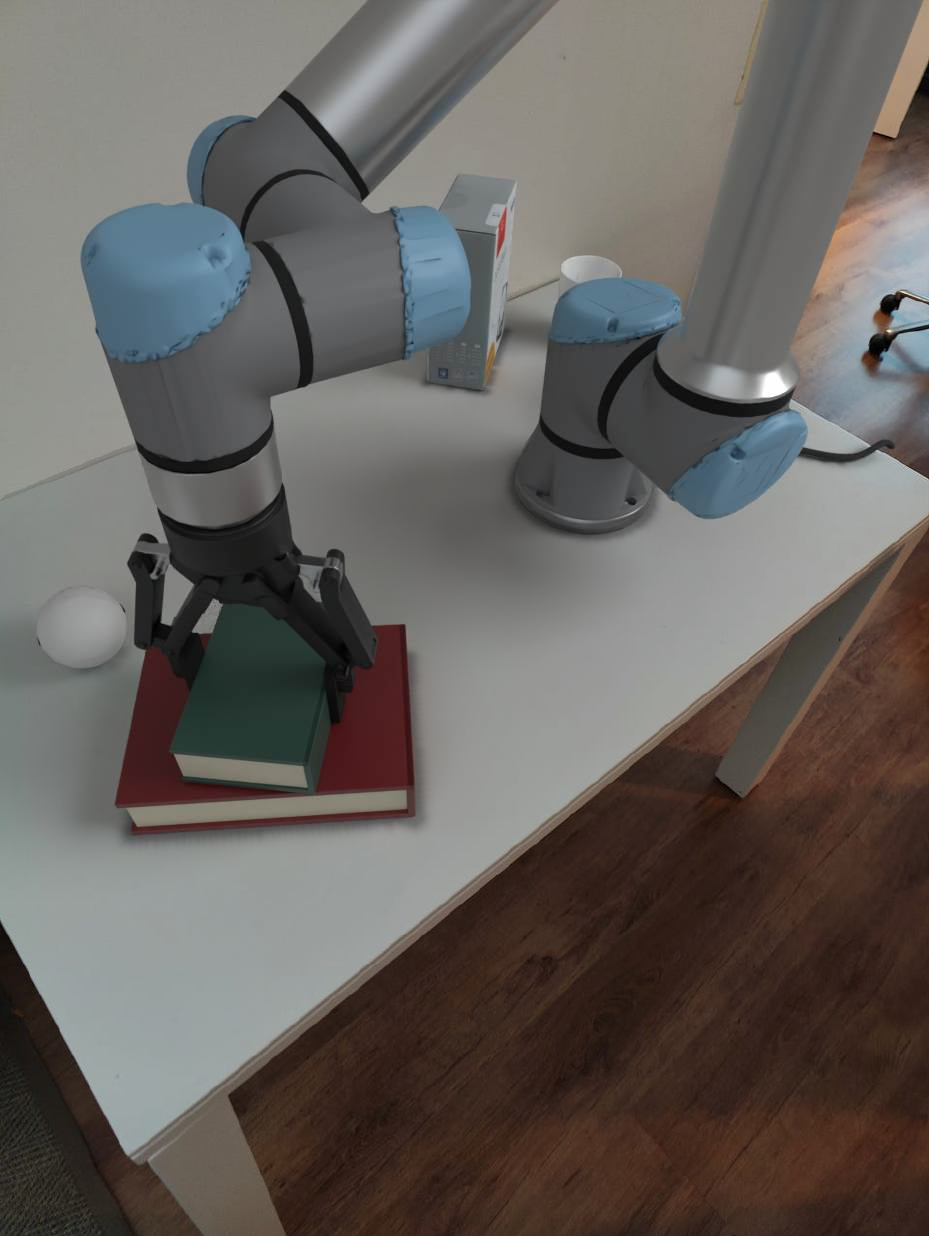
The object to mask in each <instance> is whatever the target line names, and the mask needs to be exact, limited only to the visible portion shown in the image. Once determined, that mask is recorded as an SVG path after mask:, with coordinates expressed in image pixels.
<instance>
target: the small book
mask: <svg viewBox="0 0 929 1236" xmlns="http://www.w3.org/2000/svg"><path fill="white" fill-rule="evenodd" d="M317 602H318V603H319V605H320V606H321V607H322V608H323V609H324V610H325V611H326V609H325V607H324V605H323V603H322V601H317ZM326 612H327V611H326ZM211 633H212V634H211V637H210V640H209V642H208V645H207V648H206V651H205V653H204V656H203V659H202V661H201V664H200V667H199V670H198V672H197V675H196V678H195V680H194V683H193V686H192V689H191V691H190V694H189V697H188V699H187V702H186V705H185V708H184V710H183V713H182V716H181V718H180V721H179V724H178V727H177V729H176V732H175V735H174V737H173V740H172V743H171V746H170V748H169V752H170V754H174V756H175V758H176V760H177V763H178V765H179V767H180V769H181V772H182V774H183V776H182V781H183V782H192V783H202V784H213V785H223V786H234V787H244V788H255V789H265V790H276V791H286V792H297V793H307V794H316V789H317V785H318V781H319V776H320V772H321V767H322V763H323V758H324V754H325V749H326V745H327V741H328V736H329V732H330V727H331V720H330V713H329V707H328V700H327V694H326V688H325V681H324V675H323V673H324V669H325V664H326V661H325V660H324V659H323V658H322V657H321V656H320V655H319V654H318V653H317V652H315V651H314V650H313V649H312V648H311V647H310V646H309V645H308V644H307V643H306V642H305V641H304V640H303V639H302V638H301V637H300V636H299V635H298V634H297V633H296V632H295V631H294V630H293V629H292V628H291V627H290V626H289V625H288V624H287V623H286V622H285V621H284V620H283V619H282V620H276V619H275V618H274V617H273V616H272V615H271V614H270V613H269V612H268V611H267V610H266V609H264V608H263V607H253V606H249V605H246V604H222V605H221V607H220V610H219V612H218V616H217V619H216V621H215V623H214V625H213V629H212V632H211Z"/></svg>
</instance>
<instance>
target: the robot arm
mask: <svg viewBox="0 0 929 1236" xmlns="http://www.w3.org/2000/svg"><path fill="white" fill-rule="evenodd" d="M559 1H560V0H366V1H365V3H364V4H363V5H362V6H361V7H360V8H359V9H358V10H357V11H356V12H355V13H354V14H353V15H352V16H351V18H349V20H348V21H346V23H345V24H344V25H342V27H341V28H340V29H339V30H338V31H337V33H336V34H335V35H334V36H332V38H331V39H330V40H329V41H328V42H327V43H326V44H325V45H324V46H323V47H322V48H321V50H319V52H318V53H317V54H316V55H315V56H314V57H313V58H312V59H311V60H310V61H309V62H308V63H307V65H306V66H304V67H303V69H302V70H300V72H299V73H298V74H297V75H296V76H295V78H294V79H293V80H292V81H290V83H289V84H288V85H287V86H286V87H285V88H284V89H283V90H282V91H281V92H280V93H279V95H278V96H277V97H275V98H274V99H273V101H272V102H271V103H270V104H268V105H267V107H266V108H265V109H264V110H263V111H262V112H261V113H260V114H259V115H258V116H257V117H253V116H251V115H243V114H237V115H229V116H226V117H222V118H220V119H217V120H215V121H213V122H211V123H209V125H207V126H206V127H205V128H204V129H203V130H202V131H201V132H200V133H199V134H198V136H197V137H196V139H195V141H194V142H193V145H192V147H191V149H190V152H189V155H188V159H187V165H186V183H187V187H188V188H187V189H188V192H189V195H190V199H191V201H192V202H179V203H176V204H168V205H167V204H163V203H161V202H150V203H145V204H144V203H143V204H140V205H136V206H131V207H128V208H124V209H122V210H119V211H117V212H115V213H112V214H111V215H109V216H107V217H105V218H104V219H102V220H101V221H100V222H98V223H97V224H96V225H95V226H93V228H92V229H91V230H90V231H89V233H87V235H86V237H85V239H84V241H83V244H82V246H81V251H80V268H81V272H82V276H83V279H84V284H85V287H86V291H87V294H88V299H89V301H90V305H91V309H92V313H93V316H94V321H95V327H94V331H95V334H96V336H97V339H98V340H99V341H100V345H101V347H102V351H103V353H104V357H105V359H106V361H107V365H108V367H109V370H110V373H111V376H112V379H113V382H114V385H115V388H116V390H117V393H118V396H119V399H120V403H121V405H122V408H123V410H124V413H125V417H126V419H127V422H128V425H129V427H130V431H131V434H132V436H133V440H134V442H135V446H136V449H137V452H138V456H139V459H140V462H141V466H142V469H143V471H144V475H145V478H146V481H147V485H148V488H149V491H150V494H151V498H152V500H153V502H154V505H155V506H156V509H157V514H158V517H159V520H160V525H161V526H162V530H163V533H164V535H165V539H166V542H167V543H163V542H162V543H161V542H159V540H158V538H157V537H156V536H155V535H154V534H152V533H149V532H148V533H147V532H144V533H140V535H139V537H138V538H137V541H136V543H135V545H134V547H133V549H132V551H131V552H130V555H129V557H128V560H127V562H126V565H127V568H128V569H129V572H130V574H131V575H132V578H133V580H134V582H135V599H134V600H135V601H134V603H135V604H134V625H133V630H134V631H133V645H134V646H135V647H136V648H137V649H139V650H142V651H146V650H149V649H150V648H151V646H152V647H155V648H158V649H160V650H161V653H162V654H163V655H165V656H167V658H168V661H169V664H170V665H171V669H172V671H173V674H174V675H175V676H176V677H177V678H185V681H186V683H187V686H188V689H189V691H191V689H192V686H193V683H194V680H195V678H196V675H197V672H198V670H199V667H200V664H201V661H202V659H203V656H204V653H205V650H204V647H203V644H202V641H201V638H200V635H199V634H200V633H199V632H193V630H194V629H195V627H196V626H197V624H198V622H199V621H200V619H201V617H202V616H203V615H205V613H206V611H207V610H208V608H209V606H211V603H212V602H213V600H217V601H218V604H219V605H221V604H222V605H223V604H246V605H249V606H253V607H263V608H264V609H266V610H267V611H268V612H269V613H270V614H271V615H272V616H273V617H274V618H275V619H276V620H282V619H283V620H284V621H285V622H286V623H287V624H288V625H289V626H290V627H291V628H292V629H293V630H294V631H295V632H296V633H297V634H298V635H299V636H300V637H301V638H302V639H303V640H304V641H305V642H306V643H307V644H308V645H309V646H310V647H311V648H312V649H313V650H314V651H315V652H317V653H318V654H319V655H320V656H321V657H322V658H323V659H324V660H325V661H326V664H325V669H324V673H323V675H324V681H325V688H326V694H327V700H328V707H329V713H330V720H331V723H341V718H342V714H343V709H344V705H345V700H346V693H351V692H352V691H353V688H354V683H355V678H356V667H355V666H358V667H359V668H361V669H367V670H368V669H371V668H372V667H373V664H374V659H375V654H376V649H377V643H378V637H377V635H376V633H375V631H374V629H373V628H372V626H373V625H372V624H371V621H370V620H369V618H368V616H367V614H366V612H365V610H364V609H363V606H362V605H361V602H360V600H359V598H358V596H357V594H356V593H355V591H354V589H353V587H352V584H351V582H350V580H349V579H348V577H347V575H346V556H345V553H344V552H343V551H342V550H340V549H337V548H330V549H328V550H327V552H326V554H325V557H323V556H317V555H308V554H303V551H302V550H301V549H300V548H299V546H297V544H296V543H295V541H294V539H293V531H292V523H291V518H290V517H291V516H290V511H289V506H288V500H287V494H286V488H285V485H284V483H283V475H282V466H281V460H280V453H279V448H278V442H277V441H278V440H277V435H276V430H275V421H274V415H273V410H272V407H271V406H272V403H271V401H272V400H271V399H272V398H273V397H275V396H278V395H282V394H285V393H288V392H292V391H295V390H298V389H303V388H307V387H308V386H309V385H313V384H316V383H320V382H324V381H327V380H330V379H334V378H339V377H341V376H345V375H349V374H353V373H357V372H360V371H364V370H367V369H371V368H374V367H375V368H376V367H380V366H382V365H386V364H390V363H393V362H397V361H403V362H404V361H407V360H409V359H411V357H412V356H413V355H415V354H417V353H421V352H423V351H425V350H428V348H431V347H434V346H437V345H439V344H442V343H445V342H448V341H450V340H452V339H453V338H455V337H456V336H457V335H458V334H459V333H460V332H461V330H462V329H463V327H464V326H465V323H466V321H467V318H468V315H469V311H470V290H471V277H470V270H469V265H468V261H467V257H466V254H465V251H464V248H463V245H462V243H461V240H460V238H459V236H458V234H457V232H456V230H455V228H454V227H453V225H452V224H451V222H450V221H449V220H448V219H447V217H445V216H444V215H443V214H442V213H441V212H440V211H438V210H439V209H436V207H433V206H431V205H425V204H423V205H414V206H407V207H398V206H397V205H393V206H390V207H389V209H388V210H384V211H381V212H372V211H371V210H369V209H368V208H367V207H366V206H365V205H364V204H363V202H364V200H366V199H367V198H368V197H369V196H370V194H372V192H373V191H375V189H377V188H378V187H379V185H381V183H382V182H383V181H385V179H387V177H388V176H389V175H390V174H391V173H392V172H393V171H395V169H396V168H397V167H398V166H399V165H400V164H401V163H402V162H403V161H404V160H405V159H406V158H407V157H408V156H409V154H411V153H412V152H413V151H414V150H415V148H417V146H418V145H420V144H421V142H423V140H424V139H426V137H427V136H428V135H429V134H431V132H432V131H434V129H435V128H436V127H437V126H438V125H439V124H440V123H441V122H442V121H443V120H444V119H445V118H446V117H447V116H448V115H449V114H450V113H451V112H452V111H453V110H454V109H455V108H456V106H457V105H459V104H460V103H461V102H462V100H463V99H464V98H466V96H468V94H469V93H471V91H472V90H473V89H474V88H475V87H476V86H477V85H479V83H480V82H481V81H482V80H483V79H485V77H486V76H487V75H488V74H489V73H490V72H491V71H492V70H493V69H494V68H495V67H497V65H498V64H499V62H501V61H502V60H503V59H504V58H505V57H506V55H508V53H509V52H510V51H511V50H512V49H513V48H514V47H515V46H516V45H517V44H518V43H519V42H520V41H521V40H522V39H523V38H524V37H525V36H526V35H527V34H528V33H529V32H530V31H531V30H532V29H533V28H534V27H535V26H536V25H537V24H538V23H539V21H541V20H542V19H543V17H544V16H545V15H547V13H548V12H550V10H551V9H552V8H553V7H554V6H556V4H557V3H558V2H559ZM923 2H924V0H768V2H767V5H766V9H765V13H764V17H763V20H762V24H761V28H760V32H759V35H758V39H757V43H756V46H755V50H754V55H753V57H752V61H751V66H750V69H749V73H748V77H747V81H746V84H745V88H744V92H743V96H742V100H741V103H740V107H739V110H738V114H737V118H736V122H735V125H734V129H733V132H732V137H731V141H730V144H729V149H728V151H727V155H726V158H725V163H724V167H723V171H722V175H721V178H720V181H719V185H718V190H717V192H716V197H715V201H714V204H713V209H712V211H711V216H710V220H709V223H708V226H707V230H706V235H705V238H704V242H703V245H702V249H701V252H700V256H699V261H698V264H697V268H696V272H695V275H694V279H693V283H692V288H691V290H690V295H689V298H688V302H687V306H686V310H685V313H684V316H683V313H682V301H681V298H680V297H679V296H678V294H677V293H676V292H674V291H673V290H672V289H670V288H669V287H666V285H663V284H660V283H657V282H654V281H651V280H646V279H641V278H635V277H622V276H621V277H613V278H602V279H595V280H590V281H586V282H583V283H580V284H578V285H575V286H573V287H572V288H570V289H568V290H567V291H566V292H564V293H563V294H562V295H561V297H560V298H559V299H558V298H557V302H556V304H555V305H554V309H553V313H552V314H553V315H552V319H551V324H550V327H549V330H548V331H547V337H548V338H547V345H546V346H547V347H546V348H547V349H546V355H545V364H544V365H545V366H544V373H543V374H544V375H543V382H542V385H543V386H542V391H541V401H540V411H539V418H538V422H537V424H536V426H535V428H534V429H533V432H532V433H531V435H530V436H529V438H528V439H527V441H526V442H525V445H524V446H523V447H522V449H521V453H520V456H519V457H518V459H517V463H516V469H515V476H514V477H515V479H514V487H515V492H516V494H517V497H518V499H519V500H520V502H521V504H522V505H523V506H524V507H525V508H526V510H527V511H529V513H531V514H532V515H533V516H535V517H536V518H537V519H539V520H541V521H542V522H544V523H546V524H548V525H550V526H552V527H555V528H558V529H561V530H564V531H567V532H572V533H573V532H574V533H578V534H579V533H580V534H604V533H610V532H611V533H612V532H614V531H615V532H616V531H619V530H622V529H625V528H626V527H629V526H630V525H632V524H634V523H635V522H637V521H638V520H639V519H640V518H641V517H642V516H643V515H644V514H645V513H646V511H647V510H648V508H649V505H650V502H651V500H652V498H651V497H652V495H653V491H654V486H656V487H657V488H658V489H659V490H661V492H663V493H664V494H665V495H666V496H667V497H668V499H669V500H670V501H672V502H674V503H677V504H679V505H680V506H681V507H682V508H684V509H685V510H687V511H688V512H689V513H690V514H692V516H695V517H697V518H699V519H703V520H716V519H721V518H724V517H728V516H731V515H732V514H735V513H736V512H739V511H741V510H742V509H744V508H745V507H747V506H749V505H750V504H752V503H753V502H754V501H756V500H757V499H758V498H760V497H761V496H762V495H763V494H765V493H766V492H768V490H769V489H771V488H772V487H773V486H774V485H775V484H776V483H777V482H778V481H779V480H780V479H781V478H782V477H783V476H784V475H785V474H786V472H787V471H788V470H789V469H790V467H791V466H792V465H793V464H794V462H795V461H796V460H797V458H798V456H799V455H806V456H810V457H814V458H819V459H825V460H831V461H843V462H846V461H849V462H850V461H856V460H857V461H858V460H861V459H863V458H865V457H868V456H871V454H874V453H875V452H877V451H878V450H880V449H882V448H884V447H886V448H887V449H889V450H894V449H895V448H896V444H895V443H894V442H893V441H892V440H890V439H887V438H885V439H880V440H879V441H877V442H875V443H874V444H872V445H870V446H869V447H867V448H864V449H863V450H861V451H858V452H852V453H837V452H829V451H824V450H818V449H814V448H810V447H805V444H806V442H807V439H808V433H809V426H808V425H807V421H806V420H805V419H804V418H803V416H802V414H801V412H799V411H797V410H796V409H791V407H790V403H791V400H792V398H793V396H794V392H795V390H796V387H797V385H798V383H799V381H800V380H799V379H800V377H801V376H800V375H801V366H800V365H801V364H800V362H799V360H798V358H797V356H796V355H795V353H794V351H793V349H791V347H792V344H793V341H794V339H795V336H796V334H797V331H798V328H799V326H800V323H801V321H802V318H803V316H804V313H805V310H806V308H807V305H808V303H809V300H810V298H811V294H812V292H813V290H814V287H815V285H816V281H817V279H818V277H819V274H820V271H821V269H822V266H823V264H824V260H825V258H826V255H827V253H828V250H829V248H830V245H831V242H832V240H833V237H834V236H835V235H834V234H835V232H836V230H837V227H838V224H839V222H840V219H841V216H842V213H843V212H844V209H845V206H846V204H847V201H848V199H849V196H850V194H851V190H852V188H853V185H854V182H855V180H856V178H857V175H858V172H859V170H860V167H861V165H862V162H863V159H864V157H865V154H866V152H867V148H868V147H869V144H870V141H871V138H872V136H873V133H874V131H875V128H876V125H877V123H878V120H879V119H880V114H881V112H882V110H883V107H884V104H885V103H886V100H887V96H888V94H889V92H890V89H891V86H892V85H893V81H894V78H895V76H896V73H897V70H898V68H899V65H900V63H901V60H902V57H903V55H904V53H905V50H906V47H907V44H908V42H909V39H910V37H911V34H912V33H913V30H914V26H915V24H916V21H917V19H918V16H919V13H920V11H921V8H922V5H923ZM682 317H684V320H683V323H682V324H680V325H678V323H679V322H680V320H681V318H682ZM170 566H171V567H172V568H173V569H174V570H175V571H176V572H178V574H180V575H181V576H182V577H184V578H185V579H186V580H187V581H189V582H190V583H191V584H193V585H192V588H191V589H190V590H189V593H188V594H187V596H186V598H185V600H184V601H183V603H182V605H181V607H180V608H179V610H178V612H177V614H176V616H174V617H173V619H172V622H171V624H170V625H169V624H167V623H163V622H162V620H163V607H164V606H163V605H164V592H165V583H166V582H165V580H166V573H167V571H168V569H169V567H170ZM300 576H302V577H303V576H304V577H305V578H306V579H308V581H309V582H310V584H311V586H312V592H314V593H315V594H319V595H320V600H321V602H322V603H323V605H324V607H325V609H326V611H327V612H326V611H325V610H324V609H323V608H322V607H321V606H320V605H319V603H318V602H319V601H317V600H316V599H315V598H314V596H312V595H311V593H309V592H308V590H307V589H306V588H305V587H304V580H303V579H302V578H301V577H300Z"/></svg>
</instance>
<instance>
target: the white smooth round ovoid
mask: <svg viewBox="0 0 929 1236" xmlns="http://www.w3.org/2000/svg"><path fill="white" fill-rule="evenodd" d="M25 603H28V601H27V600H25ZM29 603H30V604H34V605H39V606H41V607H40V610H39V611H38V615H37V619H36V625H35V632H36V636H37V643H38V645H39V647H41V649H42V650H43V651H44V652H45V653H46V654H47V656H49V657H50V658H51V659H52V660H53V661H54V662H56V663H58V664H61V665H64V666H66V667H69V668H71V669H78V670H79V669H81V670H84V669H91V668H96V667H98V666H100V665H103V664H106V663H107V662H108V661H110V660H111V659H113V658H114V657H116V655H117V654H118V653H119V652H120V650H121V649H122V648H123V645H124V643H125V640H126V638H127V635H128V621H127V615H126V610H125V607H124V606H123V605H122V604H121V603H120V602H118V600H117V599H116V598H115V597H114V596H113V595H111V593H109V592H106V591H105V590H103V589H100V588H99V587H95V586H90V585H89V586H88V585H76V586H69V587H67V588H64V589H61V590H59V591H57V592H56V593H54V594H53V595H51V596H50V597H49V598H48V599H47V600H46V601H45V602H44V603H43V604H40V603H36V602H32V601H29Z"/></svg>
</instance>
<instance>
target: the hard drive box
mask: <svg viewBox="0 0 929 1236" xmlns="http://www.w3.org/2000/svg"><path fill="white" fill-rule="evenodd" d="M517 187H518V180H515V179H508V178H502V177H492V176H485V175H476V174H468V173H462V172H461V173H460V172H459V173H458V174H457V175H456V177H455V179H454V180H453V183H452V184H451V186H450V188H449V190H448V193H447V194H446V195H445V198H444V200H443V201H442V203H441V205H440V207H439V208H438V209H437V210H438V211H440V212H441V213H442V214H443V215H444V216H445V217H447V219H448V220H449V221H450V222H451V224H452V225H453V227H454V228H455V230H456V232H457V234H458V236H459V238H460V240H461V243H462V245H463V248H464V251H465V254H466V257H467V261H468V265H469V270H470V277H471V290H470V311H469V315H468V318H467V321H466V323H465V326H464V327H463V329H462V330H461V332H460V333H459V334H458V335H457V336H456V337H455V338H453V339H452V340H450V341H448V342H445V343H442V344H439V345H437V346H434V347H431V348H428V349H427V357H426V359H427V362H426V365H427V366H426V381H427V382H429V383H432V384H433V383H434V384H438V385H439V384H440V385H447V386H453V387H460V388H467V389H472V390H479V391H484V390H485V388H486V385H487V382H488V379H489V377H490V373H491V371H492V368H493V364H494V361H495V358H496V356H497V352H498V349H499V347H500V343H501V341H502V337H503V335H504V332H505V323H506V313H507V301H508V289H509V279H510V278H509V276H510V266H511V252H512V243H513V230H514V221H515V220H514V218H515V208H516V207H515V206H516V199H517V198H516V196H517Z"/></svg>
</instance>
